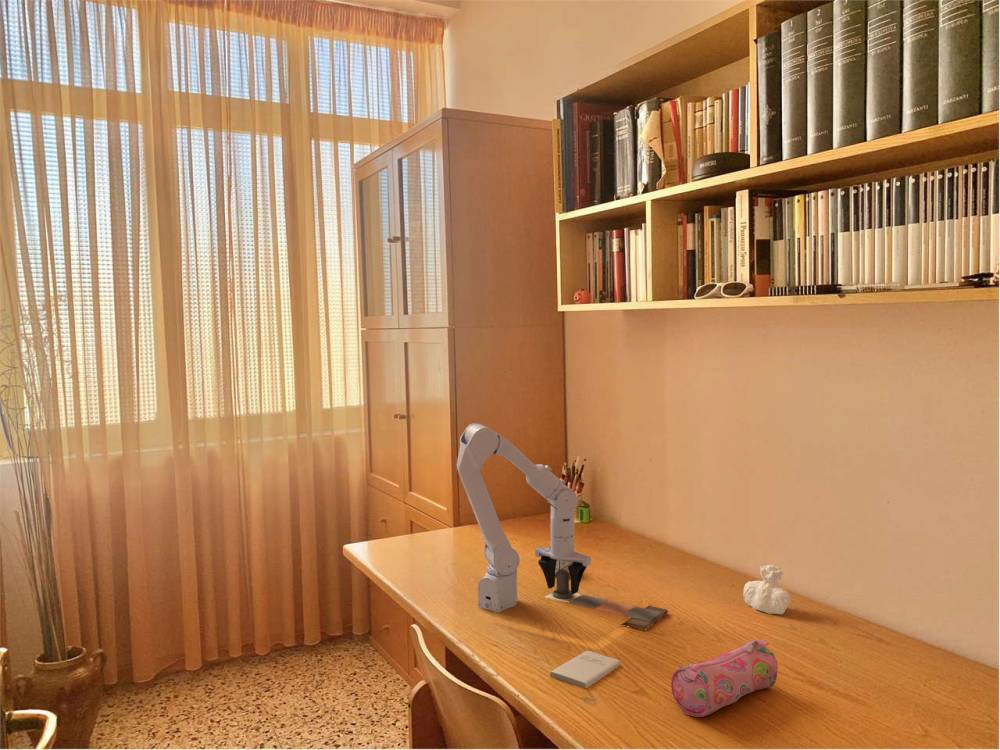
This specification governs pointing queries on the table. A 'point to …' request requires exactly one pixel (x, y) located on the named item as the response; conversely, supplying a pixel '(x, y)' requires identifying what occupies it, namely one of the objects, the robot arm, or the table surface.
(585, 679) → the external hard drive
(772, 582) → the bust
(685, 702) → the pencil case
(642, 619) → the board
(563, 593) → the pawn
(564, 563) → the game die
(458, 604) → the table surface
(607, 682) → the table surface
